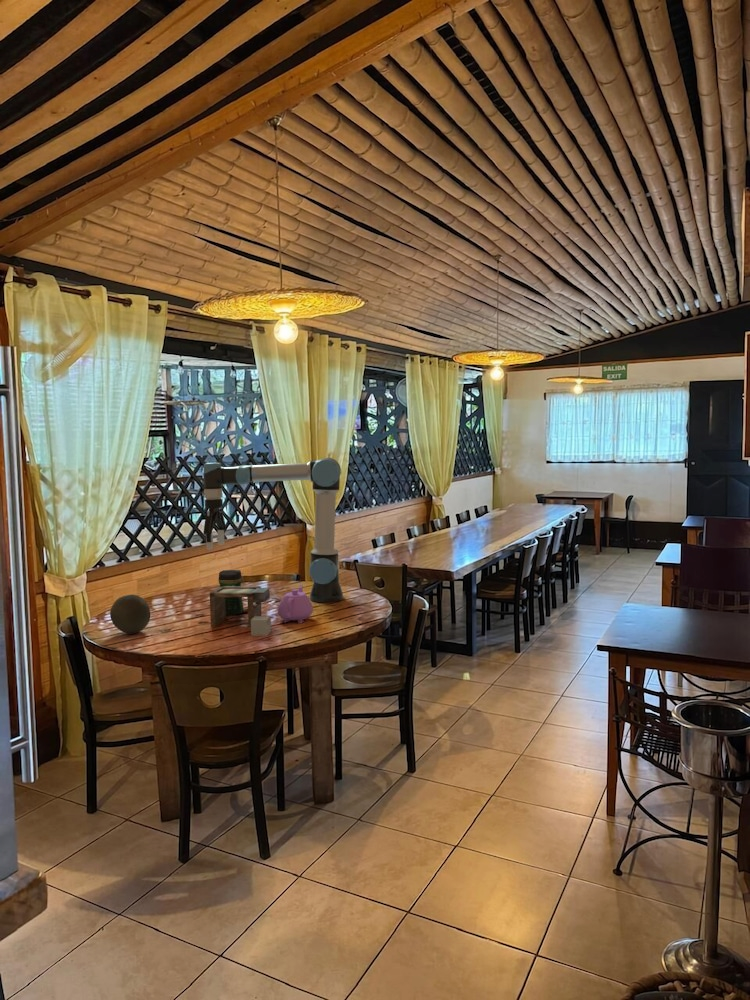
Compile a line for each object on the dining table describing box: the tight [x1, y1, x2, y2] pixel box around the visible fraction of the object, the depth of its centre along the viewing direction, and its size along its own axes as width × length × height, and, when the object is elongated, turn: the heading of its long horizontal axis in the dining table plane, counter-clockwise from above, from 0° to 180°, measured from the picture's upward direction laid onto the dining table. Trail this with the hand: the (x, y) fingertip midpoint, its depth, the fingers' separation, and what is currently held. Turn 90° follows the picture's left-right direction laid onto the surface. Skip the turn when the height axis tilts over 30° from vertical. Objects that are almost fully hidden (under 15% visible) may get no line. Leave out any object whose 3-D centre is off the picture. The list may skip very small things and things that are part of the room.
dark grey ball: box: [109, 594, 151, 635], centre depth 258 cm, size 14×14×15 cm
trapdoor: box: [220, 587, 270, 604], centre depth 270 cm, size 19×8×4 cm, turn 84°
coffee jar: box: [217, 569, 244, 616], centre depth 286 cm, size 10×8×19 cm
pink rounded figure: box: [277, 584, 314, 624], centre depth 274 cm, size 20×14×12 cm
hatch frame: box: [209, 585, 263, 628], centre depth 271 cm, size 17×13×14 cm
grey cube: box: [250, 615, 272, 637], centre depth 256 cm, size 6×6×6 cm
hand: (215, 547), depth 294 cm, fingers open, 13 cm apart
